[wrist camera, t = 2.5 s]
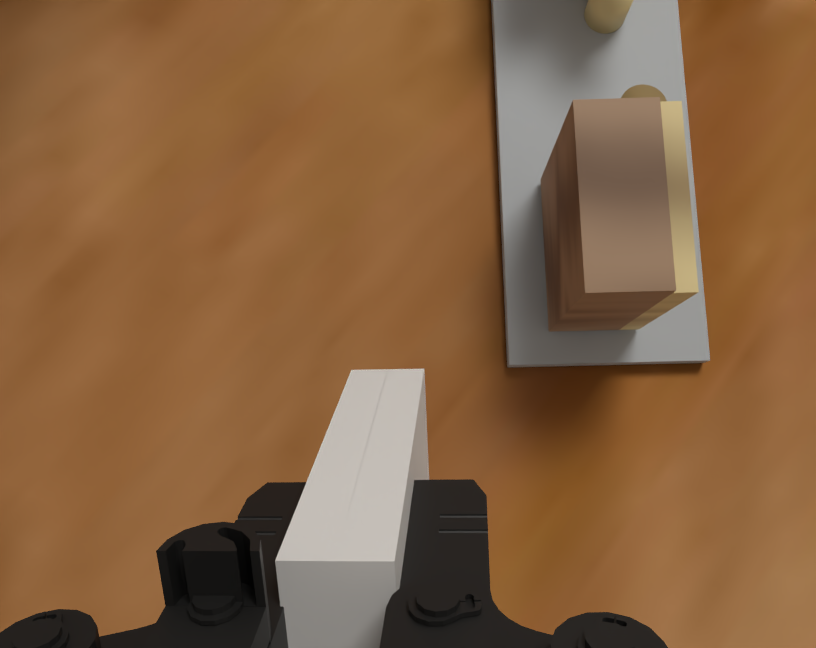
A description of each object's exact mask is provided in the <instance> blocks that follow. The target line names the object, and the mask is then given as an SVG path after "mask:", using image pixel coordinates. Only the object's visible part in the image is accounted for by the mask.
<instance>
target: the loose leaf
mask: <svg viewBox="0 0 816 648" xmlns="http://www.w3.org/2000/svg"><path fill="white" fill-rule="evenodd" d="M540 181H541V200H542V218H543V237H544V255H545V274H546V293H547V311H548V330H549V332H555V331H596V330H637V329H640V328H642V327H644V326H645V325H647V324H648V323H650V322H652V321H653V320H655V319H657V318H658V317H660V316H661V315H663V314H665V313H666V312H668V311H669V310H671V309H673V308H674V307H676V306H677V305H679V304H681V303H682V302H684V301H685V300H687V299H689V298H690V297H692V296H693V295H695V294H697V293H698V292H699V289H698V278H697V267H696V255H695V244H694V233H693V222H692V211H691V199H690V188H689V177H688V166H687V155H686V144H685V132H684V121H683V110H682V101H667V100H666V98H665V96H664V95H663V93H662V92H661V91H660V90H658V89H657V88H655V87H653V86H650V85H644V84H641V85H635V86H633V87H631V88H629V89H628V90H626V91H625V92H624V94H623V95H622V97H621V98H613V99H579V100H573V101H572V103H571V106H570V108H569V111H568V113H567V116H566V118H565V121H564V123H563V125H562V128H561V130H560V133H559V135H558V138H557V140H556V143H555V145H554V148H553V150H552V152H551V155H550V157H549V160H548V162H547V165H546V167H545V170H544V172H543V175H542V177H541V180H540Z"/></svg>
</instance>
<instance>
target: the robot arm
mask: <svg viewBox="0 0 816 648" xmlns="http://www.w3.org/2000/svg"><path fill="white" fill-rule="evenodd" d="M156 552H157V558H158V564H159V570H160V576H161V582H162V588H163V593H164V599H165V605H166V606H165V608H164V610H163V612H162V613H161V615H160V617H159V619H158V620H157V622H156V623H155V624H152V625H149V626H145V627H142V628H138V629H134V630H129V631H124V632H120V633H115V634H110V635H105V636H101V637H99V633H98V628H97V625H96V624H95V622H94V620H93V619H92V617H91V616H90V615H88V614H85V613H83V612H81V611H78V610H64V609H57V610H53V611H48V612H42V613H38V614H35V615H33V616H30V617H28V618H25V619H23V620H20V621H18V622H16V623H14V624H13V625H11V626H10V627H8V628H7V629H5V630H4V631H2V632H1V633H0V648H668V647H667V646H666V644H665V643H664V641H663V640H662V639H661V638H660V637H659V636H658V635H657V634H656V633H655V632H654V631H653V630H652V629H651V628H650V627H648V626H646V625H644V624H642V623H640V622H638V621H636V620H634V619H632V618H630V617H626V616H622V615H618V614H614V613H609V612H596V613H584V614H581V615H578V616H575V617H571V618H569V619H567V620H566V621H565V622H564V623H562V624H561V625H560V626H559V627H557V628H556V629H555V632H554V634H553V635H550V634H546V633H542V632H538V631H535V630H532V629H529V628H526V627H523V626H521V625H519V624H517V623H515V622H514V621H512V620H510V619H508V618H507V617H506V616H505V615H504V614H503V613H502V612H501V611H499V610H498V608H497V606H496V605H495V603H494V602H493V600H492V596H491V592H490V575H489V550H488V524H487V499H486V495H485V493H484V492H483V491H482V490H481V488H480V487H479V486H478V485H477V484H476V482H475V481H474V480H429V467H428V444H427V420H426V397H425V374H424V369H381V370H351V372H350V375H349V377H348V380H347V382H346V385H345V387H344V390H343V392H342V395H341V397H340V400H339V402H338V405H337V407H336V410H335V412H334V415H333V417H332V420H331V422H330V425H329V427H328V430H327V432H326V435H325V437H324V440H323V442H322V445H321V447H320V450H319V452H318V455H317V457H316V460H315V462H314V465H313V467H312V470H311V472H310V475H309V477H308V480H307V482H294V483H266V484H265V485H264V486H263V487H261V488H260V489H259V490H257V491H256V492H255V493H254V494H252V495H251V496H250V497H248V498H247V500H246V502H245V504H244V506H243V508H242V510H241V512H240V513H239V515H238V520H236V521H235V523H228V522H218V523H209V524H202V525H199V526H196V527H193V528H189V529H186V530H184V531H182V532H180V533H178V534H176V535H175V536H173V537H171V538H169V539H168V540H167V541H166V542H165V543H164V544H163V545H162V546H161V547H160V548H159V549H158V550H157V551H156Z"/></svg>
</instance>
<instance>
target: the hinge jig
mask: <svg viewBox="0 0 816 648" xmlns="http://www.w3.org/2000/svg"><path fill="white" fill-rule="evenodd" d="M491 8H492V31H493V54H494V77H495V99H496V122H497V145H498V168H499V190H500V213H501V236H502V258H503V281H504V304H505V327H506V349H507V367H549V366H591V365H634V364H676V363H704V362H707V361H710V354H709V343H708V331H707V320H706V309H705V298H704V287H703V276H702V265H701V254H700V243H699V232H698V221H697V210H696V199H695V188H694V177H693V166H692V155H691V144H690V133H689V122H688V111H687V100H686V89H685V78H684V67H683V56H682V45H681V34H680V23H679V12H678V1H677V0H491ZM641 84H644V85H650V86H653V87H655V88H657V89H658V90H660V91H661V92H662V93H663V95H664V96H665V98H666V100H667V101H682V110H683V121H684V132H685V144H686V155H687V166H688V177H689V188H690V199H691V211H692V222H693V233H694V244H695V255H696V267H697V278H698V289H699V292H698V293H697V294H695V295H693V296H692V297H690V298H689V299H687V300H685V301H684V302H682V303H681V304H679V305H677V306H676V307H674V308H673V309H671V310H669V311H668V312H666V313H665V314H663V315H661V316H660V317H658V318H657V319H655V320H653V321H652V322H650V323H648V324H647V325H645V326H644V327H642V328H640V329H637V330H596V331H555V332H549V330H548V311H547V293H546V274H545V255H544V237H543V218H542V200H541V181H540V180H541V177H542V175H543V172H544V170H545V167H546V165H547V162H548V160H549V157H550V155H551V152H552V150H553V148H554V145H555V143H556V140H557V138H558V135H559V133H560V130H561V128H562V125H563V123H564V121H565V118H566V116H567V113H568V111H569V108H570V106H571V103H572V101H573V100H579V99H613V98H621V97H622V95H623V94H624V92H625V91H626V90H628V89H629V88H631V87H633V86H635V85H641Z"/></svg>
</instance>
